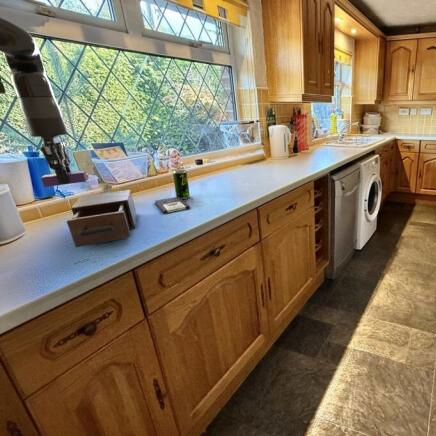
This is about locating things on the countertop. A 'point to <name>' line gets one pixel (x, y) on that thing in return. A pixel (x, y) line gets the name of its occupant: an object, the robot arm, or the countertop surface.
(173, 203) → the chocolate bar
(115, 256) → the countertop surface
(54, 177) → the purple rectangular block
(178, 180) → the beer can
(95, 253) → the countertop surface
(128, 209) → the cabinet
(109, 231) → the drawer
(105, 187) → the chocolate bunny
